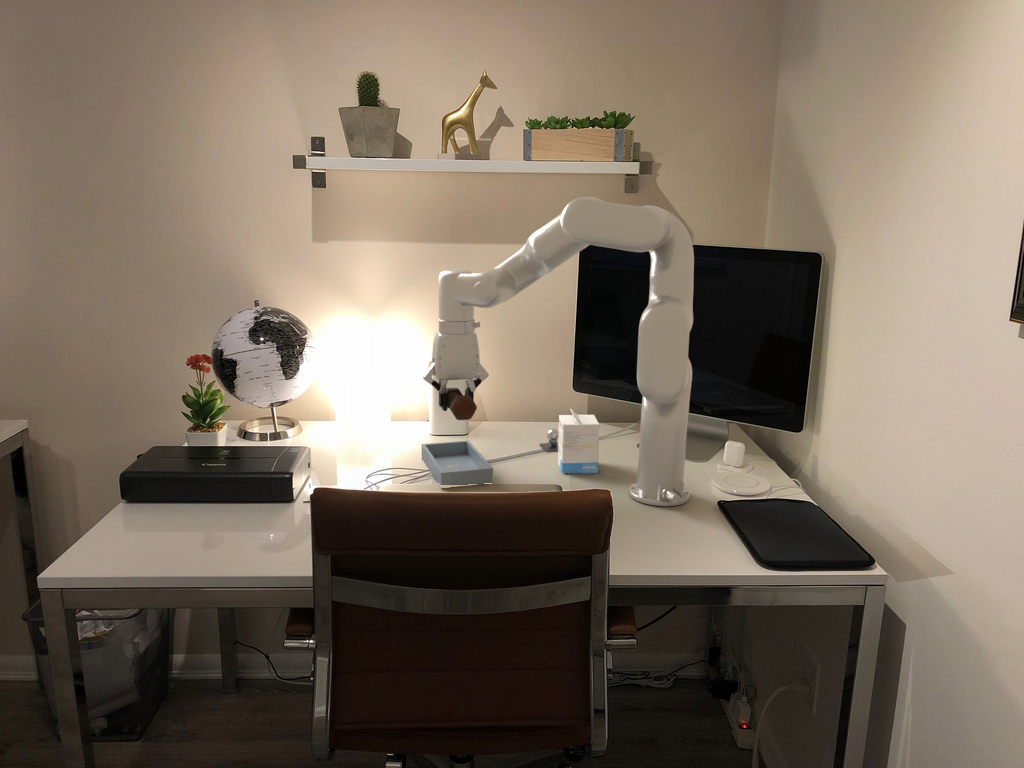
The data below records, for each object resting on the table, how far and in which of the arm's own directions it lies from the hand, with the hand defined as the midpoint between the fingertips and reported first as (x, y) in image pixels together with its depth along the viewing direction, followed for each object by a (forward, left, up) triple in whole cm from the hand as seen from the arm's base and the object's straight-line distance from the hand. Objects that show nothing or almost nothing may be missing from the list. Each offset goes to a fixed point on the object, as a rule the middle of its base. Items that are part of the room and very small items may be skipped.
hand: (456, 407), depth 183 cm
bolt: (0, 0, -1) cm, 1 cm away
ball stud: (+10, -27, -15) cm, 32 cm away
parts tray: (0, 0, -15) cm, 15 cm away
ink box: (-5, -27, -15) cm, 32 cm away
